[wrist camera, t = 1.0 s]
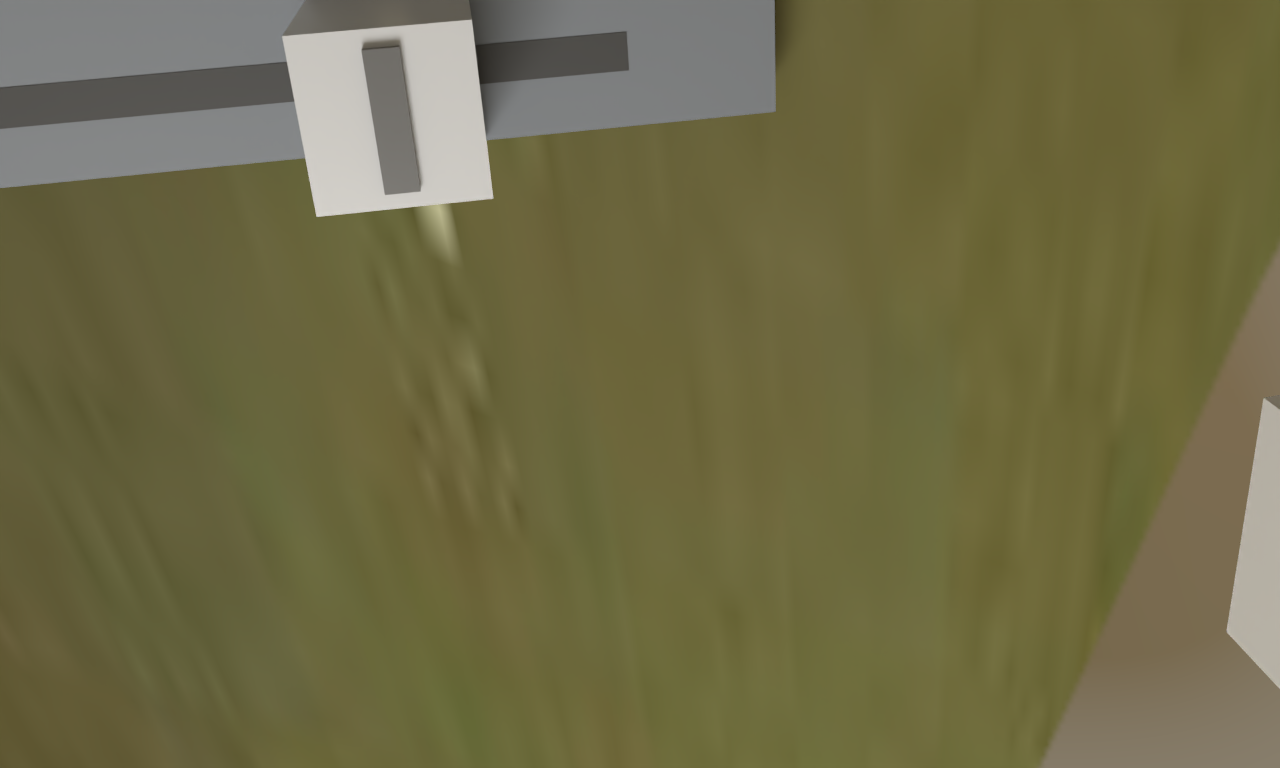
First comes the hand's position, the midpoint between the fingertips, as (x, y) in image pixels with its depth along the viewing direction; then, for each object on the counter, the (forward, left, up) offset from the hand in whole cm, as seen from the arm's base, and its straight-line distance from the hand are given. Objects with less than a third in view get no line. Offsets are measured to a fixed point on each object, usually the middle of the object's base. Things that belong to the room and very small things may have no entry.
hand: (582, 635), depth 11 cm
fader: (-1, -2, -23) cm, 23 cm away
